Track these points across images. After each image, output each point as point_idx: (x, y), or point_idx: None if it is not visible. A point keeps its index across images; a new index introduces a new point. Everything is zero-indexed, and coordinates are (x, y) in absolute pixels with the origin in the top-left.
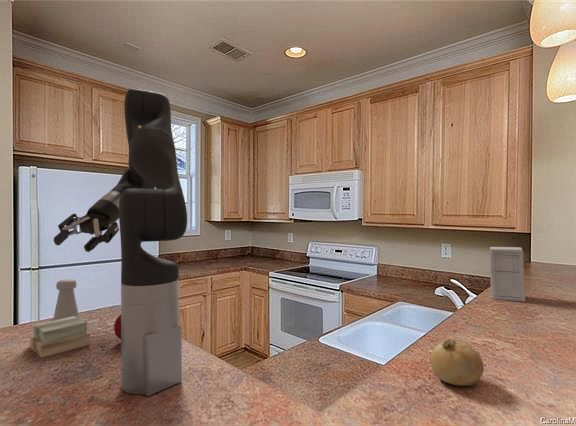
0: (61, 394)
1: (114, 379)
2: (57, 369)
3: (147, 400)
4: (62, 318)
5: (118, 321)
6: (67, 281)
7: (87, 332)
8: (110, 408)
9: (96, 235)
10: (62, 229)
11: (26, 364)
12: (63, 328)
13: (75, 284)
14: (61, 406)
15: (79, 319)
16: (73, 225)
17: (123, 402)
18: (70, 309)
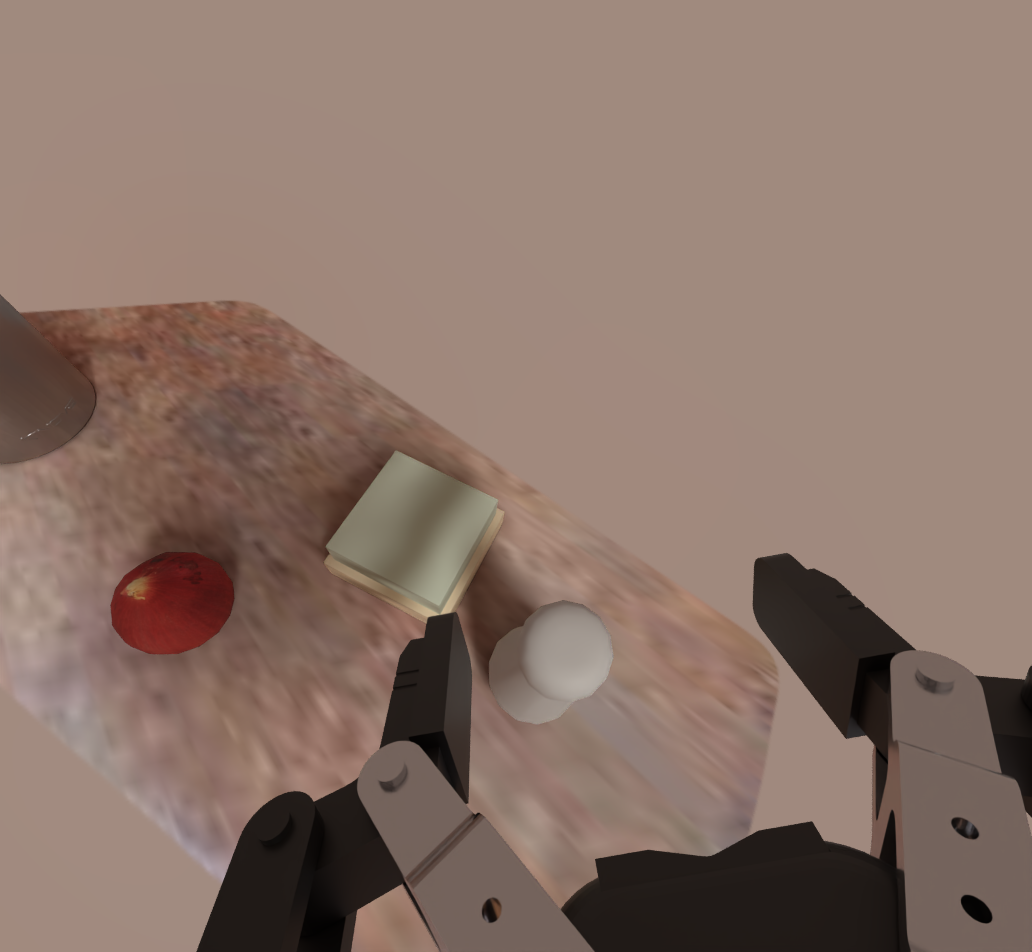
0: (213, 358)
1: (128, 411)
2: (304, 432)
3: None
4: (516, 629)
5: (184, 553)
6: (536, 621)
7: (338, 567)
8: (85, 334)
9: (396, 754)
10: (927, 654)
11: (404, 443)
12: (367, 490)
13: (521, 668)
14: (185, 331)
15: (381, 571)
16: (898, 747)
17: (66, 349)
18: (506, 650)
